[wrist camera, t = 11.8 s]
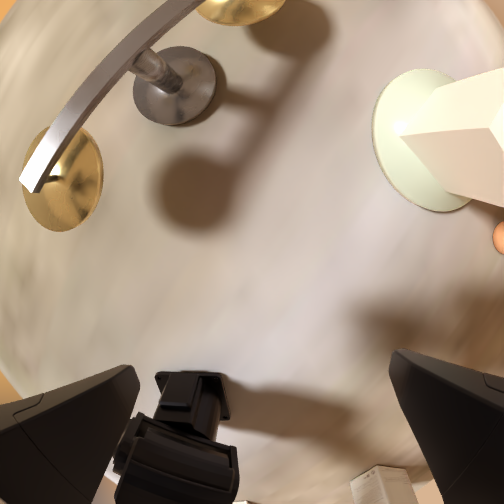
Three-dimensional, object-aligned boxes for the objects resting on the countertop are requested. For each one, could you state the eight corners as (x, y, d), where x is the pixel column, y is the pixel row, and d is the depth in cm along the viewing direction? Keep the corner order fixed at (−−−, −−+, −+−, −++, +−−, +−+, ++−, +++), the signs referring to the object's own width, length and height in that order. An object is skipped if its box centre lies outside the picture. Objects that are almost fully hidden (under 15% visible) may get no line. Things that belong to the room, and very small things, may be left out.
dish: (482, 207, 19) (490, 210, 18) (375, 211, 20) (381, 214, 19) (473, 83, 16) (481, 81, 15) (362, 65, 17) (367, 60, 16)
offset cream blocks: (445, 191, 18) (575, 234, 6) (398, 136, 17) (536, 126, 5) (478, 142, 16) (601, 153, 5) (436, 88, 16) (560, 55, 4)
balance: (124, 223, 21) (43, 267, 12) (74, 180, 20) (-16, 200, 11) (300, 10, 16) (320, -71, 6) (237, -24, 15) (222, -104, 5)
